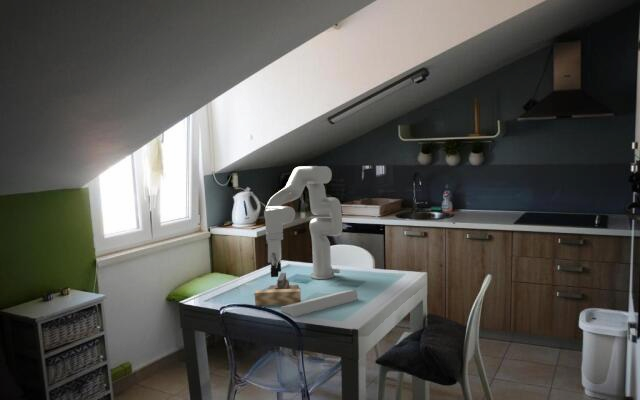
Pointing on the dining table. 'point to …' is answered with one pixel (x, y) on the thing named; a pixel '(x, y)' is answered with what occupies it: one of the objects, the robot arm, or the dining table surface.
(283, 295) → the wooden block
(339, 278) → the dining table surface
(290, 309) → the decorative molding
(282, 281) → the ridge stand
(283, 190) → the robot arm
